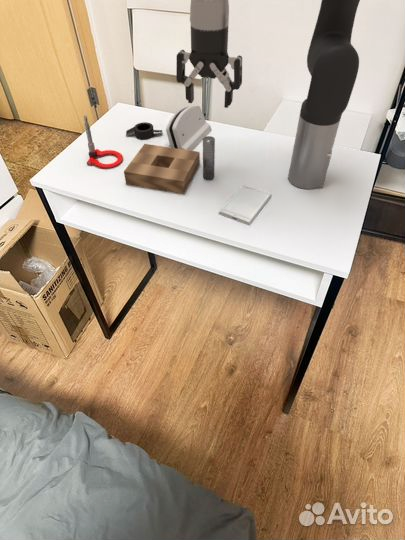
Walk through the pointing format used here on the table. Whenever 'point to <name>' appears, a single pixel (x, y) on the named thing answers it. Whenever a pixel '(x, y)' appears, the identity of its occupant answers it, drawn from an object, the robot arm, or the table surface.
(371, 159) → the table surface
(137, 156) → the wooden square frame
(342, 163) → the table surface
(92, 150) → the tow hook
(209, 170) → the pin
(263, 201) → the hard drive
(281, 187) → the table surface
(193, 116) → the grey rounded slab
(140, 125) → the black rounded piece
